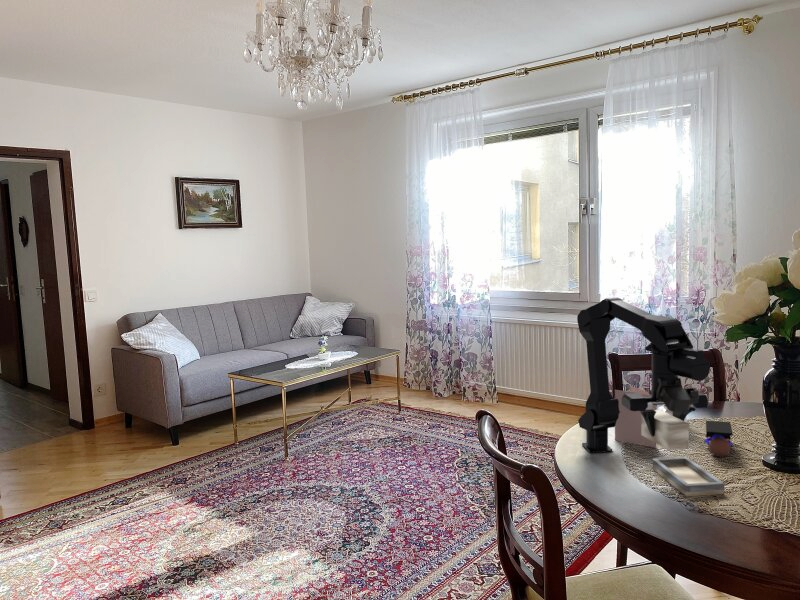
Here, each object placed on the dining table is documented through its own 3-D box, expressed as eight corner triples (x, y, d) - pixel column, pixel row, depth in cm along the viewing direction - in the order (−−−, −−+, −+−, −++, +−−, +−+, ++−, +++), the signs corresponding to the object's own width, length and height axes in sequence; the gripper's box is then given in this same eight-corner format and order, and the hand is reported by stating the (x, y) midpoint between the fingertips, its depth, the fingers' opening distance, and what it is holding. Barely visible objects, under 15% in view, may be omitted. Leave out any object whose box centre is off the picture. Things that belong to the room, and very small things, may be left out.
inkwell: (680, 416, 188) (681, 386, 187) (703, 436, 171) (704, 402, 169) (651, 416, 189) (651, 386, 188) (670, 436, 172) (671, 403, 170)
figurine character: (703, 443, 169) (705, 456, 155) (703, 416, 169) (705, 428, 155) (729, 446, 166) (734, 460, 152) (730, 419, 166) (735, 430, 152)
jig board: (652, 468, 150) (652, 458, 150) (686, 466, 150) (686, 456, 150) (686, 496, 134) (686, 486, 134) (724, 493, 135) (724, 483, 134)
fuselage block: (641, 434, 146) (641, 411, 145) (659, 432, 147) (659, 409, 146) (668, 450, 135) (669, 425, 134) (688, 448, 136) (688, 423, 135)
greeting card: (658, 447, 164) (659, 395, 162) (636, 451, 161) (636, 398, 160) (631, 434, 174) (632, 385, 173) (610, 437, 172) (610, 387, 171)
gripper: (640, 382, 131) (640, 449, 133) (723, 378, 131) (721, 445, 133) (620, 370, 142) (620, 432, 144) (696, 366, 142) (695, 429, 144)
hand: (664, 435), depth 141 cm, fingers closed on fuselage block, 5 cm apart
